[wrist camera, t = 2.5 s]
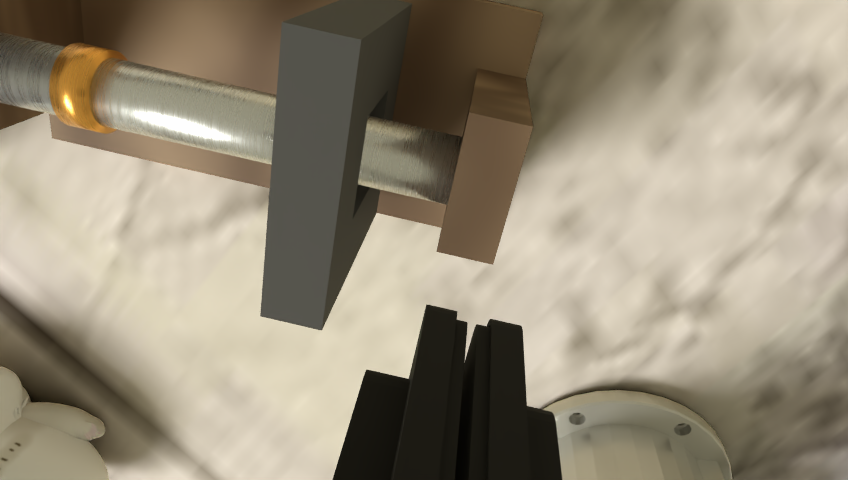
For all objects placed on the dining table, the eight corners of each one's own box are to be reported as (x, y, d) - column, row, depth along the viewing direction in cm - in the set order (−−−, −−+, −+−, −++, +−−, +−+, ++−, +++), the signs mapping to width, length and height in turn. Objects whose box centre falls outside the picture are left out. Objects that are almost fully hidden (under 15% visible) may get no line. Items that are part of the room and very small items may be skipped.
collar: (412, 3, 22) (361, 40, 14) (376, 212, 26) (321, 330, 19) (361, -9, 22) (281, 21, 14) (333, 202, 26) (260, 315, 19)
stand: (541, 12, 24) (557, 43, 17) (482, 227, 28) (476, 322, 21) (42, -99, 24) (-147, -114, 17) (66, 131, 29) (-74, 194, 22)
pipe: (480, 123, 21) (477, 148, 18) (462, 195, 22) (457, 229, 20) (-4, 13, 21) (-74, 23, 19) (8, 91, 23) (-56, 111, 20)
